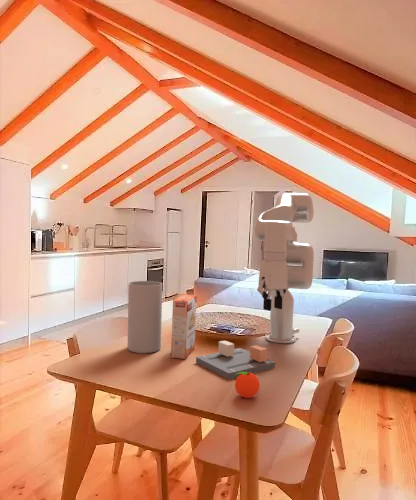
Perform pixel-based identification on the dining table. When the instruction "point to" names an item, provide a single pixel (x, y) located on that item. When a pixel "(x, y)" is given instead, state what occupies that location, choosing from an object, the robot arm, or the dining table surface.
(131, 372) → the dining table surface
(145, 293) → the cylinder vase
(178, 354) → the cracker box
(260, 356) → the terracotta fader
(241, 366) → the fader panel
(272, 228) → the robot arm
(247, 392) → the clementine
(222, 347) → the ivory fader
